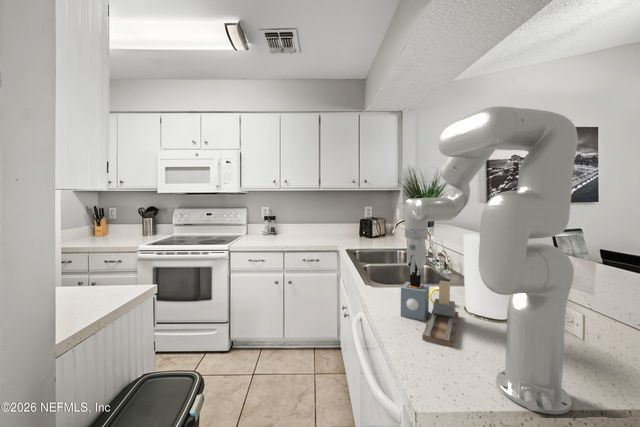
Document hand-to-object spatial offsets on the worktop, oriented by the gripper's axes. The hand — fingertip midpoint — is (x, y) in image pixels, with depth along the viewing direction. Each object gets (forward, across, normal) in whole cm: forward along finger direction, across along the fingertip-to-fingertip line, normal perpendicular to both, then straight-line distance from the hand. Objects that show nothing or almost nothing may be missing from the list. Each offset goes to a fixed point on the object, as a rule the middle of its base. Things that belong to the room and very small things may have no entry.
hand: (415, 285), depth 99 cm
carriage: (+7, -1, -9) cm, 12 cm away
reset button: (+3, 0, 0) cm, 3 cm away
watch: (+10, +16, -6) cm, 20 cm away
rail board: (+10, -6, -10) cm, 15 cm away
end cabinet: (+10, 0, 0) cm, 10 cm away
